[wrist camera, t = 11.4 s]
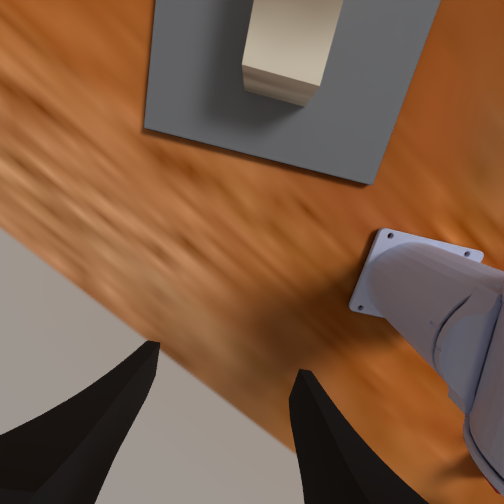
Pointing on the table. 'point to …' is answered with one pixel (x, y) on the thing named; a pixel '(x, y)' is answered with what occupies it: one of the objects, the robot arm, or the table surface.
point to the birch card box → (288, 47)
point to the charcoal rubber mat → (277, 111)
